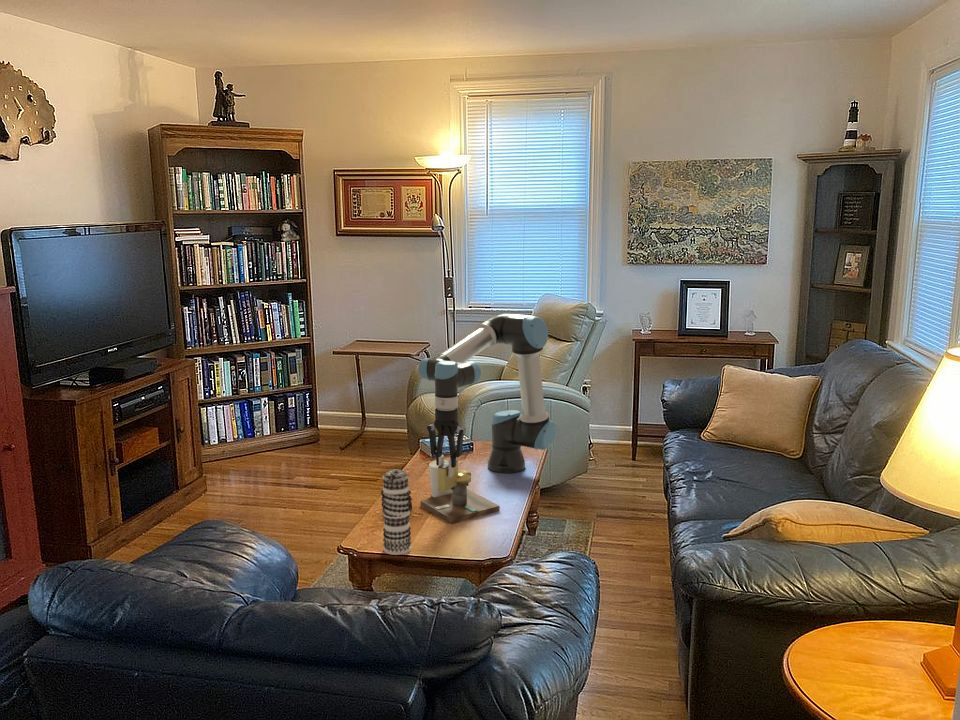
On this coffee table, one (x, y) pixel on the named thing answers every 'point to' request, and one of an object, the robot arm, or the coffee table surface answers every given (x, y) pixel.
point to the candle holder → (436, 480)
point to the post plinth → (459, 505)
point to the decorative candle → (396, 512)
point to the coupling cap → (456, 479)
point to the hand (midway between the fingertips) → (446, 475)
